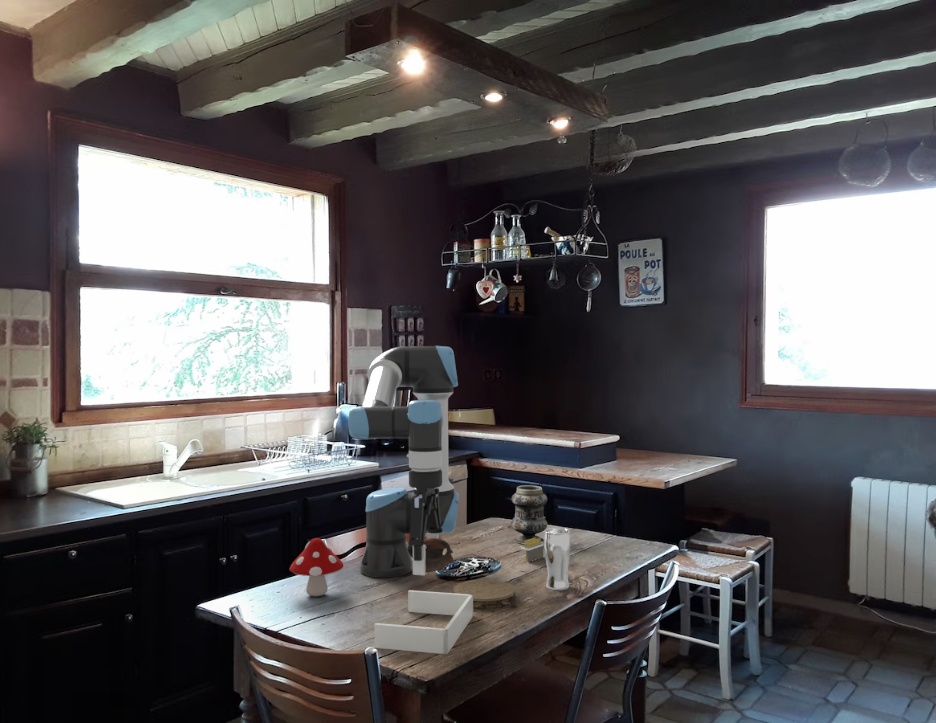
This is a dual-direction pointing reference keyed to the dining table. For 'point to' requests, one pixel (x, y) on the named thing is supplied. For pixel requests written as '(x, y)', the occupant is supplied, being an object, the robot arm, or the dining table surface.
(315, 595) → the decorative mushroom
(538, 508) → the apothecary jar
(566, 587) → the beer glass
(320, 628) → the dining table surface
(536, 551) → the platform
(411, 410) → the robot arm
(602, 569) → the dining table surface
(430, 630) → the bin
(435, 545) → the pottery mug
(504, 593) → the wood slice
